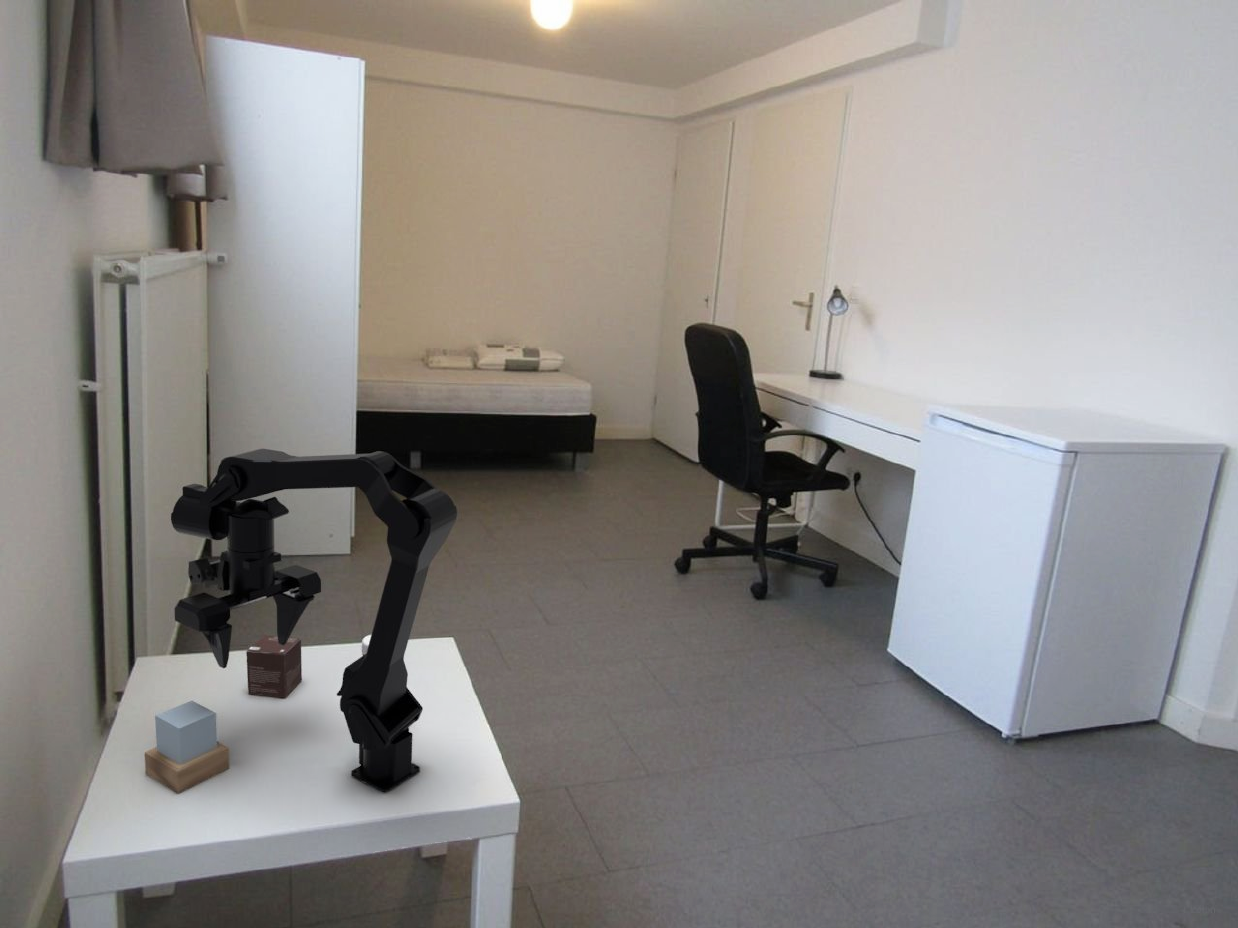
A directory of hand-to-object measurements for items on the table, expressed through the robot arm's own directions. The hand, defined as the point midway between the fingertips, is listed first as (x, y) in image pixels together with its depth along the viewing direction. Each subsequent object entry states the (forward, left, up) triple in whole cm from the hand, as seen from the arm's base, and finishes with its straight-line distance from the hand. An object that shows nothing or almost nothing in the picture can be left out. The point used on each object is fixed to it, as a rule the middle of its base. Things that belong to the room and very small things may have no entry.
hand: (253, 655), depth 119 cm
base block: (0, +10, -12) cm, 16 cm away
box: (+10, -11, -13) cm, 20 cm away
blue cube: (0, +10, -9) cm, 14 cm away
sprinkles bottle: (-10, -13, -13) cm, 21 cm away
